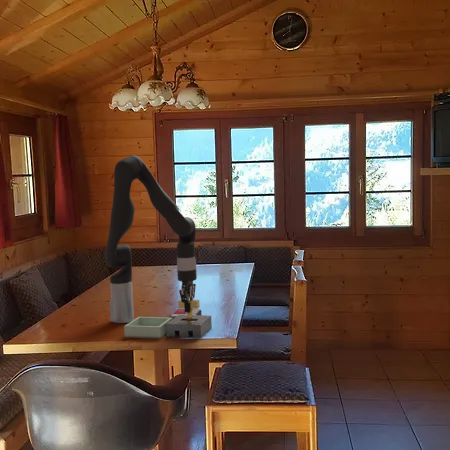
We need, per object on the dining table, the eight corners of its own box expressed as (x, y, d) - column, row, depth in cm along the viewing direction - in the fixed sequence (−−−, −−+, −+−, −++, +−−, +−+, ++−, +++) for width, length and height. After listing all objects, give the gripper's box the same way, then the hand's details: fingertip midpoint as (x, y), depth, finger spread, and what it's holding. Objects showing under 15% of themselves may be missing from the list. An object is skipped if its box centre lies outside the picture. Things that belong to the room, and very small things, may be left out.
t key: (201, 329, 230) (199, 299, 229) (199, 331, 228) (197, 301, 226) (182, 329, 232) (180, 299, 231) (180, 330, 230) (178, 301, 229)
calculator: (201, 308, 255) (195, 315, 240) (201, 317, 255) (195, 325, 240) (177, 308, 257) (169, 315, 242) (177, 317, 257) (169, 325, 242)
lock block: (167, 336, 225) (166, 323, 225) (179, 326, 239) (178, 314, 238) (201, 337, 221) (200, 325, 221) (211, 327, 235) (211, 315, 234)
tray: (124, 337, 227) (124, 325, 226) (139, 327, 240) (138, 316, 240) (160, 338, 223) (159, 327, 222) (173, 328, 236) (172, 317, 236)
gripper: (190, 271, 220) (192, 316, 222) (201, 265, 233) (203, 307, 235) (171, 271, 222) (173, 315, 224) (183, 265, 235) (185, 306, 237)
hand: (188, 311), depth 229 cm, fingers closed on t key, 2 cm apart
